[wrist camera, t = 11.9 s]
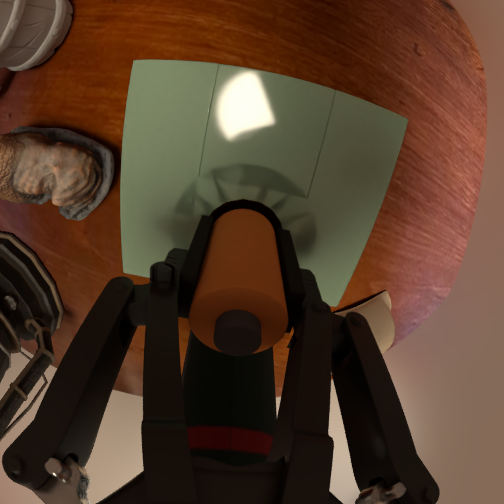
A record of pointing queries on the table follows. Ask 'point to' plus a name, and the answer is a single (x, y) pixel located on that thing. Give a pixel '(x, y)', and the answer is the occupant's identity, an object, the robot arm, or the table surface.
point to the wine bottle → (229, 404)
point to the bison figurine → (55, 169)
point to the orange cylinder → (240, 287)
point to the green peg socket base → (252, 162)
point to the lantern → (24, 322)
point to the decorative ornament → (377, 319)
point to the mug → (31, 31)
